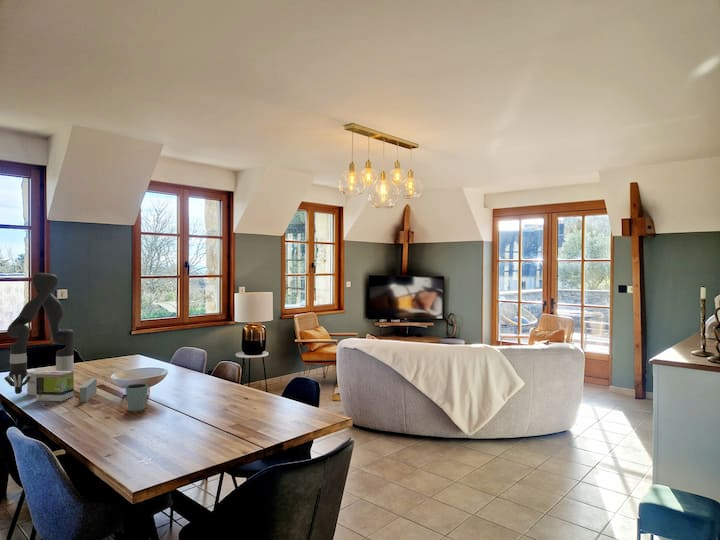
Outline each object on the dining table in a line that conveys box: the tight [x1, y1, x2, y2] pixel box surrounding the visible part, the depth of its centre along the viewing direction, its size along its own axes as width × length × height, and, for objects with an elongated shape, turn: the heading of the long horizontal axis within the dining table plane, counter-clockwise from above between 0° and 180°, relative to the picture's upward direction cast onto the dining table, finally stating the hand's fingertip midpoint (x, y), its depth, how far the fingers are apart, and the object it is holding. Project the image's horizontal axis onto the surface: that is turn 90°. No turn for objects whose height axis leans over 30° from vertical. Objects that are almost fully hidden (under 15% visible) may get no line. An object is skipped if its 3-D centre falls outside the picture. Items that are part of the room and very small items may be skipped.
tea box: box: [35, 370, 75, 402], centre depth 268 cm, size 15×10×15 cm, turn 84°
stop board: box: [79, 377, 98, 403], centre depth 273 cm, size 22×3×8 cm, turn 15°
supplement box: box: [26, 369, 46, 397], centre depth 278 cm, size 7×7×13 cm
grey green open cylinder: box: [125, 382, 149, 412], centre depth 251 cm, size 10×10×12 cm
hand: (18, 393), depth 263 cm, fingers closed
